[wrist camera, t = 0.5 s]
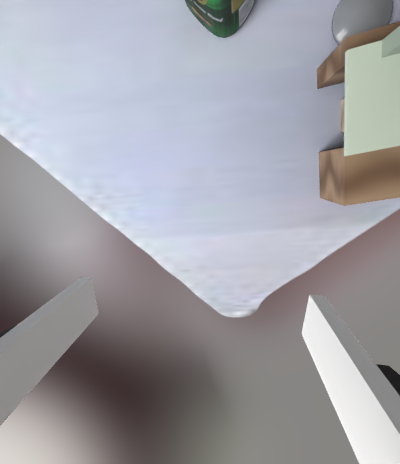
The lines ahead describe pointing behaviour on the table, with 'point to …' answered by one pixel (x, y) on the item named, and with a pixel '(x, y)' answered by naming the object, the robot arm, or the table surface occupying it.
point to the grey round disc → (359, 17)
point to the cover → (372, 96)
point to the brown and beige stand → (364, 164)
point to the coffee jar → (221, 14)
